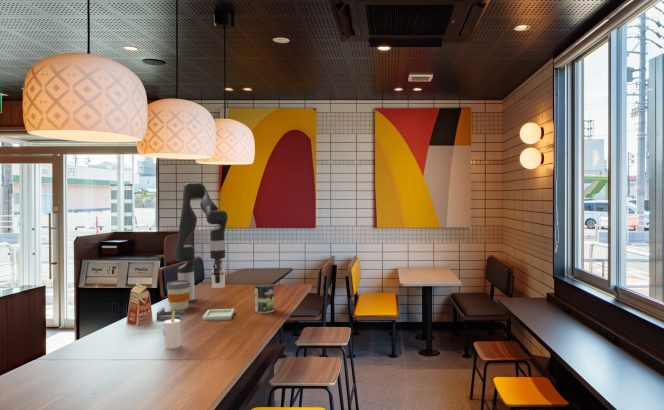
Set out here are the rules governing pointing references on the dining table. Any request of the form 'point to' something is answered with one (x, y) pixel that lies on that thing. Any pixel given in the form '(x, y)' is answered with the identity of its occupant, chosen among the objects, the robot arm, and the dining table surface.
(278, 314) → the dining table surface
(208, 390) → the dining table surface
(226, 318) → the tray
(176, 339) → the candle
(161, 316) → the grey holder
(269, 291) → the coffee can
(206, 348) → the dining table surface
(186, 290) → the reusable coffee cup
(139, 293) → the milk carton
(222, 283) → the white banded brick
